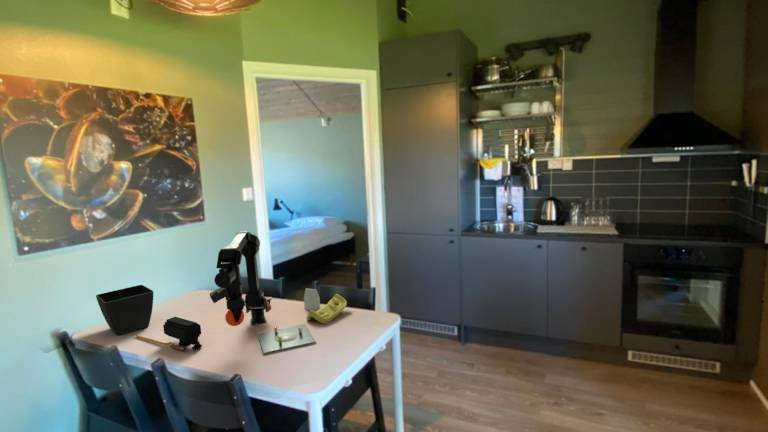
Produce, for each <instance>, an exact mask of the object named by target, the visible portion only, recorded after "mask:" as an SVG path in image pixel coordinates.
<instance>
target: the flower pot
mask: <svg viewBox="0 0 768 432" xmlns="http://www.w3.org/2000/svg"><path fill="white" fill-rule="evenodd" d="M95 297H96V301H97V303H98V306H99V308H100V312H101V314H102V316H103V318H104V320H105V322H106V324H107V325H108V327H109V329H110V330H111V331H112V332H113V334H115V335H116V336H120V335H124V334H127V333H132V332H134V331H138V330H139V331H140V330H142V329H145V328H148V327H149V326H150V324H151V323H150V321H151V318H152V313H153V306H154V290H153V289H150V288H149V287H147V286H145V285H144V284H139V285H134V286H133V285H132V286H129V287H125V288H121V289H116V290H112V291H107V292H103V293H99V294H95Z"/></svg>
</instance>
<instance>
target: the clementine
mask: <svg viewBox="0 0 768 432" xmlns="http://www.w3.org/2000/svg"><path fill="white" fill-rule="evenodd" d="M243 310H245V311H246V308H245V307H244V308H243ZM244 319H245V313H244V311H242V313H241V316H240V319H239V322H235V319H234V316H233V313H232V311H231V310H229V309H228V311H227V312H226V313H225V321H226V323H227V324H228V325H229V326H231V327H236V326H239V325H241V324H242V323H243V321H244Z"/></svg>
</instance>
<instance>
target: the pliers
mask: <svg viewBox="0 0 768 432" xmlns="http://www.w3.org/2000/svg"><path fill="white" fill-rule="evenodd" d="M265 298H266V300H267V301H268V308H266V309H265V312H269V311H270V310H271V308H272V305H271V300H272V298H273V296H269V297H267V296H265ZM245 312H246V313H249V312H251V310H248V311H247V310H246V309H245Z"/></svg>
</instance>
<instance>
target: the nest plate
mask: <svg viewBox="0 0 768 432" xmlns="http://www.w3.org/2000/svg"><path fill="white" fill-rule="evenodd" d="M298 327H301V328H302V335H299V328H298ZM277 330H278V334H277V335H275V330H274V329H273V330H268V331H263V332H258V333H257V337H258V340H259V343H260V347H261V350H262V353H263V356H265V355H269V354H273V353H279V352H283V351H288V350H291V349H296V348H300V347H305V346H310V345H315V344H317V341H316V340H315V338H314V336H313V335H312V333H311V332H310V330H309V328H308V327H307V325H306V324H305V323H303V324H298V325H294V326H288V327H283V328H277ZM278 336H281V338H282V344H279V340H278Z"/></svg>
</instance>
